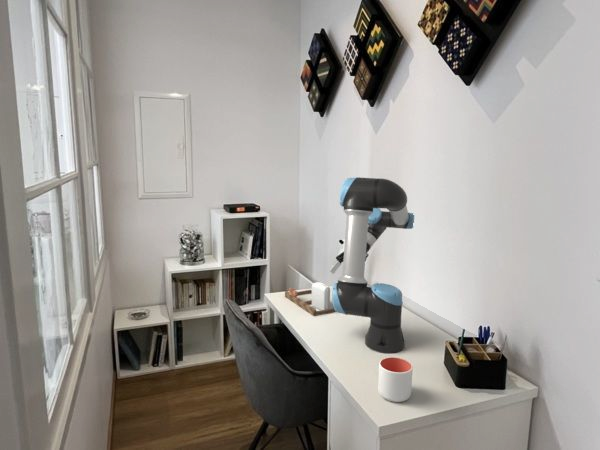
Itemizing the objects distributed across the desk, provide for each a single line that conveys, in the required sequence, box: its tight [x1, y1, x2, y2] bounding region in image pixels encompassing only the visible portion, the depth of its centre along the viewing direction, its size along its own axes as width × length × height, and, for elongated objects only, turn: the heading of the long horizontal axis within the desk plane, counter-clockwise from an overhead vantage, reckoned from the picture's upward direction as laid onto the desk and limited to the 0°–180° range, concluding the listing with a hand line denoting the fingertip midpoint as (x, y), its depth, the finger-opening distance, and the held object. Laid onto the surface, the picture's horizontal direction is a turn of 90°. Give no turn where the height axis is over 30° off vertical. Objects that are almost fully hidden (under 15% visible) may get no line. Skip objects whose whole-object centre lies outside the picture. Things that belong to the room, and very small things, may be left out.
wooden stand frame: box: [284, 287, 337, 317], centre depth 211 cm, size 29×15×6 cm, turn 29°
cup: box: [377, 356, 414, 403], centre depth 132 cm, size 10×10×10 cm
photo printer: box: [311, 281, 331, 311], centre depth 205 cm, size 10×4×12 cm, turn 39°
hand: (338, 275), depth 208 cm, fingers open, 13 cm apart
